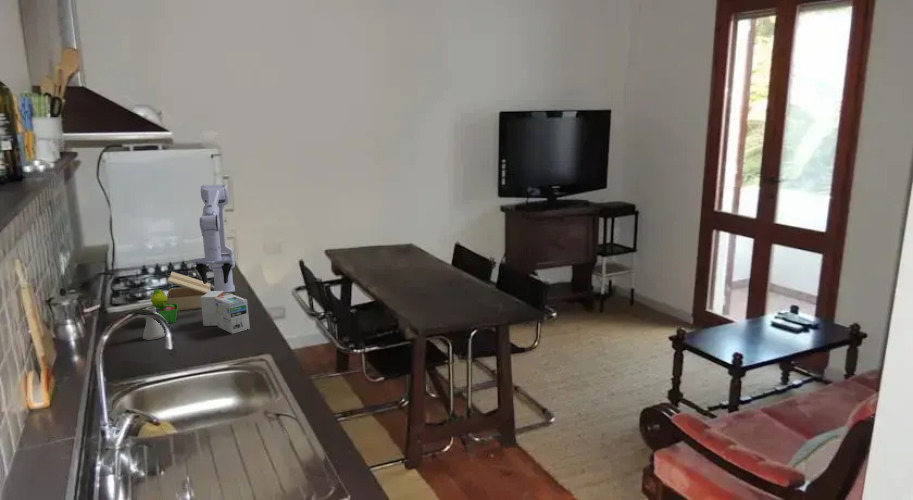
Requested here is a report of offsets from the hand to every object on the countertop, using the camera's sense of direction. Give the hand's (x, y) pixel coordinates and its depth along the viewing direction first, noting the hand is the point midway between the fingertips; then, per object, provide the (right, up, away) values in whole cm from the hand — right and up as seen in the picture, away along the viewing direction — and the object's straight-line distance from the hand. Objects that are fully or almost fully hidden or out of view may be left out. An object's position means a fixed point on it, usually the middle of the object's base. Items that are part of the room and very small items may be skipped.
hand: (215, 283), depth 240 cm
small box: (+5, -13, -13) cm, 19 cm away
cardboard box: (-13, -9, +8) cm, 17 cm away
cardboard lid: (-12, -1, +6) cm, 14 cm away
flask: (-11, -17, -26) cm, 33 cm away
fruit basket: (-15, -13, -11) cm, 23 cm away
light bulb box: (+13, -15, -19) cm, 28 cm away
